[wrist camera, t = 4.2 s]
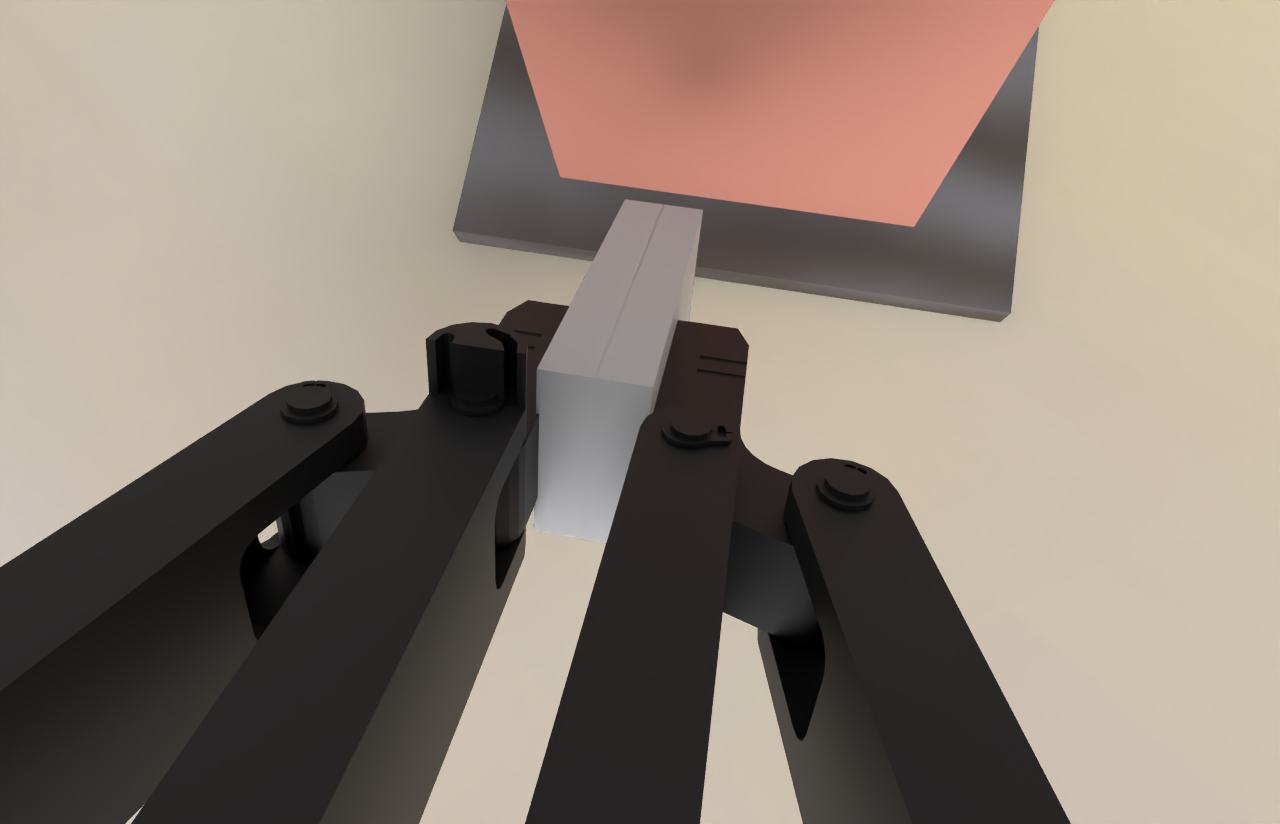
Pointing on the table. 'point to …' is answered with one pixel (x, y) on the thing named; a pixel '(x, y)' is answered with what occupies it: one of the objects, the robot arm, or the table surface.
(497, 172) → the housing
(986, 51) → the red flanged plug
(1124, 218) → the table surface
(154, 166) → the table surface
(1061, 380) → the table surface
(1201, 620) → the table surface
